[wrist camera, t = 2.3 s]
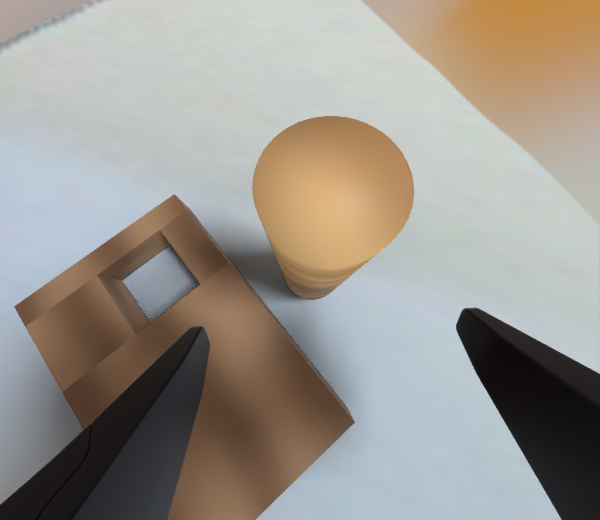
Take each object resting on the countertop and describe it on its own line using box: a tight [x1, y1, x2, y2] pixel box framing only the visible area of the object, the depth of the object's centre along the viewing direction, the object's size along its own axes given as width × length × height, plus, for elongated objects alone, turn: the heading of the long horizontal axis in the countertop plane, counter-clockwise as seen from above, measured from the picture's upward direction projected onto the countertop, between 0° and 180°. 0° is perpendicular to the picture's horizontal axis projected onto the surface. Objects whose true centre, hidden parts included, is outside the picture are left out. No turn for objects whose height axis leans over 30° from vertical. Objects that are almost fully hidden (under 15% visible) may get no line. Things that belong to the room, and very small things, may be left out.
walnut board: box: [15, 194, 355, 520], centre depth 17 cm, size 13×20×2 cm, turn 40°
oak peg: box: [252, 116, 414, 300], centre depth 13 cm, size 4×4×14 cm
